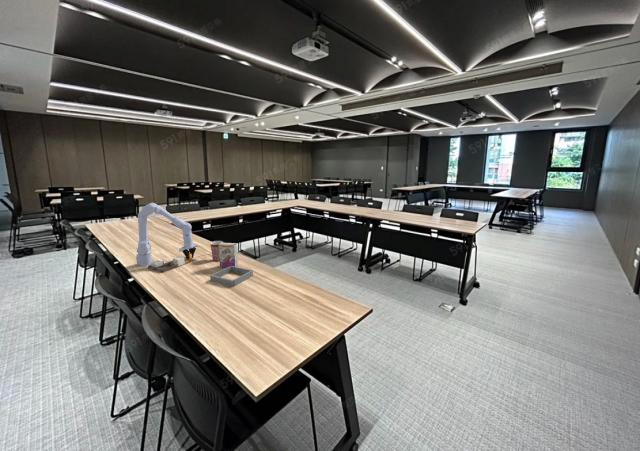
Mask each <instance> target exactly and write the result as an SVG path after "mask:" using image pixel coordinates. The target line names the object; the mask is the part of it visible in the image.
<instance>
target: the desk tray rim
mask: <svg viewBox="0 0 640 451" xmlns="http://www.w3.org/2000/svg"><path fill="white" fill-rule="evenodd" d="M232 272H233V273H237V274H241V275H240V276H238V277H236V278H234V279H230V278H226V277H224V276H226V275H228V274H230V273H232ZM209 277H210V282H213V283H215V284H220V285H224V286H228V287H232V288H233V287H237V286H238V285H239V284H241V283H243V282H244V281H246V280H249V279H250V278H252V277H254V270H253V269H249V268H244V267H239V266H237V267H235V266H229V267H224V268H223V269H221V270H218V271H217V272H214V273H212V274H210V276H209Z"/></svg>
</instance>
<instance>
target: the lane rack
mask: <svg viewBox="0 0 640 451" xmlns="http://www.w3.org/2000/svg"><path fill="white" fill-rule="evenodd" d="M183 257H184V261H186V260H188V259H186V257H185V256H183ZM161 261H162V262H163V265H161V266H158V267H153V266H151V265H149V266H147V268H148V270H151V271H155V272H159V273H167V272H168V271H171V270H174V269H177V268H180V267H182V266H186V265H188V264H190V263H193V262H196V261H197V259H195V258H192V261H188V262H185V264H183V265H180V266H178V264H176V265H173V259H172V260H169V261H167V262H165V261H164V260H161Z"/></svg>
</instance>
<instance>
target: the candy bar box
mask: <svg viewBox="0 0 640 451" xmlns="http://www.w3.org/2000/svg"><path fill="white" fill-rule="evenodd" d="M237 244H238V243H237V242H236V243H235V242H233V243H232V242H223V243H220V244H219V245H218V247H219V260H220V261H219V267H220V268H227V267H229V266H235V267H239V266H238V265H239V261H238V247H237V246H238V245H237Z"/></svg>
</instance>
